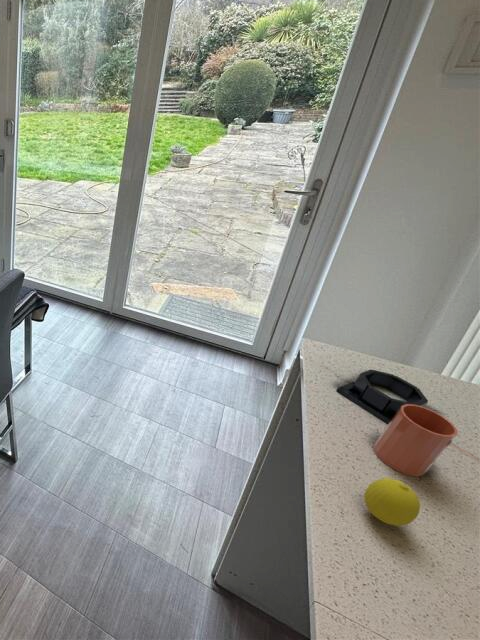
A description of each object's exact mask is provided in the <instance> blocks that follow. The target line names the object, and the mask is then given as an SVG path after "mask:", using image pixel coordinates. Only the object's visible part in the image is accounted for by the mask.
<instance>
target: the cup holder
mask: <svg viewBox="0 0 480 640" xmlns="http://www.w3.org/2000/svg"><path fill="white" fill-rule="evenodd" d="M374 386H375V387H379V388H383V389H387V390H389V391H390V392H392V393H394V394H395V395H397V396H399V397H400V398H402V399H404V400H405V401H404V400H401V399H397V398H393V397H391V396H389V395H388V394H385V393H384V392H382V391H380V390H379V389H377V388H375V387H374ZM335 391H336V392H337V393H339V394H341V395H342V396H343V397H345V398H347V399H348V400H350V401H351V402H352V403H354V404H355V405H357V406H359V407H361V408H362V409H363V410H365V411H367V412H368V413H370V414H372V415H373V416H375V418H377V419H379V420H380V421H382V422H384V423H386V424H387V425H388V424H389V423H390V421H391V420H392V419H393V417H394V416H395V414H396V413H397V412H398V410H399V409H400V407H401V406H403V405H405V404H414V405H418V406H422V407H425V408H426V405H427V404H428V403H429V400H428V399H427V398H426V396H425V395H424V393H423V391H421V389H420V388H419V387H417V386H416V385H414V384H412V383H410V382H409V381H407V380H405V379H404V378H401V377H399V376H397V375H395V374H392V373H388V372H384V371H380V370H376V369H368V370H366V371H363V372H360V374H359V375H358V377H357V378H356V380H355V382H354V381H351V382H349V383H346V384H344V385H340V386H339V387H337V389H335Z"/></svg>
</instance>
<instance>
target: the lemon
mask: <svg viewBox="0 0 480 640" xmlns="http://www.w3.org/2000/svg"><path fill="white" fill-rule="evenodd" d="M363 496H364V497H363V499H364V500H363V501H364V503H365V506H366V508H367V510H368V511H369V512H370V513H371V514H372V515H373V517H375V518H376V519H378V520H379V521H381V522H382V523H385V524H386V525H387V524H388V525H391V526H395V527H396V526H397V527H399V526H400V527H401V526H406V525H409V524H411V523H412V522H414V521H415V519H417V517H418V516H419V513H420V510H421V509H420V508H421V502H420V499H419V496H418V495H417V493H416V492H415V491H414V490H413V489H412V488H411V487H410V486H409V485H408V484H405V483H404V482H403V481H401V480H398V479H394V478H389V477H384V478H379V479H377V480H374V481H373V482H370V484H369V485H368V486H367V487H366V489H365V491H364V495H363Z"/></svg>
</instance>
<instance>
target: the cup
mask: <svg viewBox="0 0 480 640" xmlns="http://www.w3.org/2000/svg"><path fill="white" fill-rule="evenodd" d="M457 436H458V429H457V427H456V426H455V424H454V423H452V422H451V421H450V420H449V419H448V418H446V417H445V416H443V415H441V414H439V413H438V412H436V411H434V410H433V409H430V408H427V407H426V406H425V407H422V406H418V405H414V404H405V405H403V406H401V407H400V409H399V410H398V412H397V413H396V414H395V416H394V417H393V419H392V420H391V421H390V423H389V424H387V425H386V427H385V428H384V430H383V431H382V432H381V434H380V435H379V437H378V439H377V440H376V441H375V444H374V445H373V452H374V454H375V455H376V456H377V458H378V459H380V460H381V461H382V462H383V463H384V464H385V465H386V466H388V467H389V468H391V469H393V470H395V471H396V472H399V473H401V474H403V475H406V476H409V477H423V476H424V475H425V474H426V473H427V472H428V471H429V470H430V469H431V467H432V466H433V464H434V463H435V462H436V461H437V460H438V459H439V458H440V456H441V455H442V454H443V453H444V452H445V450H446V449H447V448H448V446H450V445H451V443H453V441H454V440H455V439H456V438H457Z"/></svg>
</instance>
